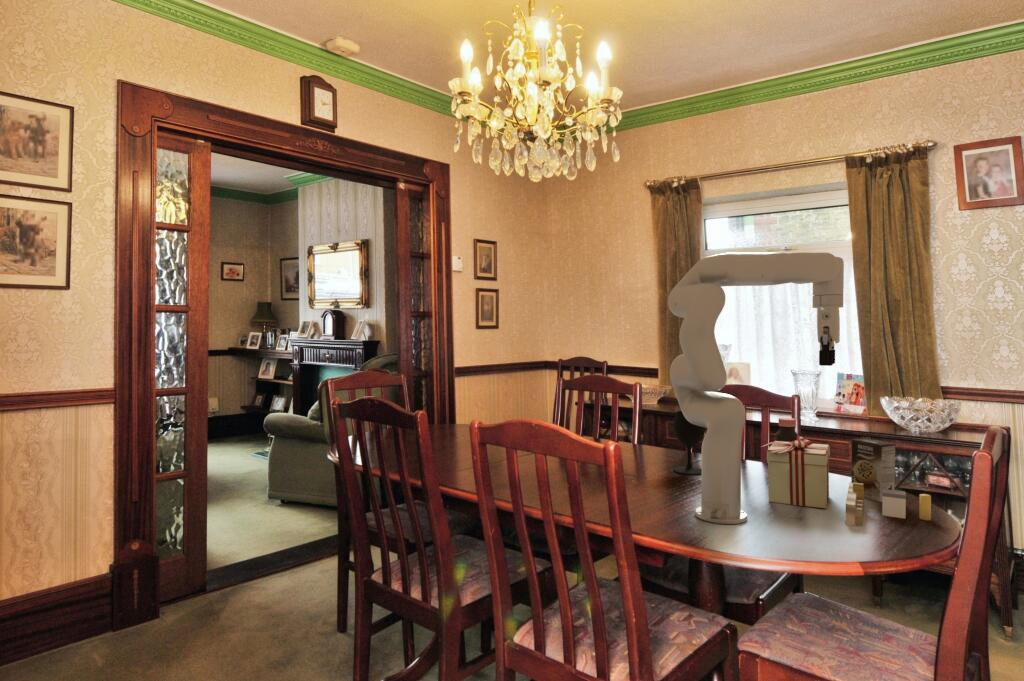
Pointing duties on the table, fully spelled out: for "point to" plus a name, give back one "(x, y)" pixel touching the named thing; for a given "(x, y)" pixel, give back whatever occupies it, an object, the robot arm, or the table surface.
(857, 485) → the comb fence
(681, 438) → the wine glass
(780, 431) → the bottle
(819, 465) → the gift box
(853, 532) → the table surface
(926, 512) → the post
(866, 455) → the coffee box
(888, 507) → the beige square box
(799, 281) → the robot arm
